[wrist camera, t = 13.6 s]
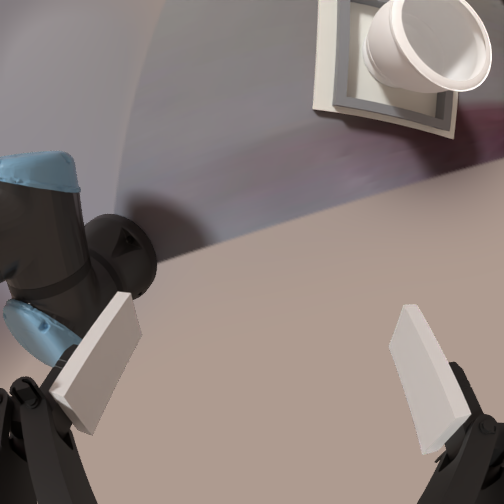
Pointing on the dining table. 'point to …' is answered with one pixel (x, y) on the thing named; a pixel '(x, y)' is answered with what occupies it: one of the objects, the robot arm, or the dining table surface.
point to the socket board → (368, 75)
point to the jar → (428, 46)
